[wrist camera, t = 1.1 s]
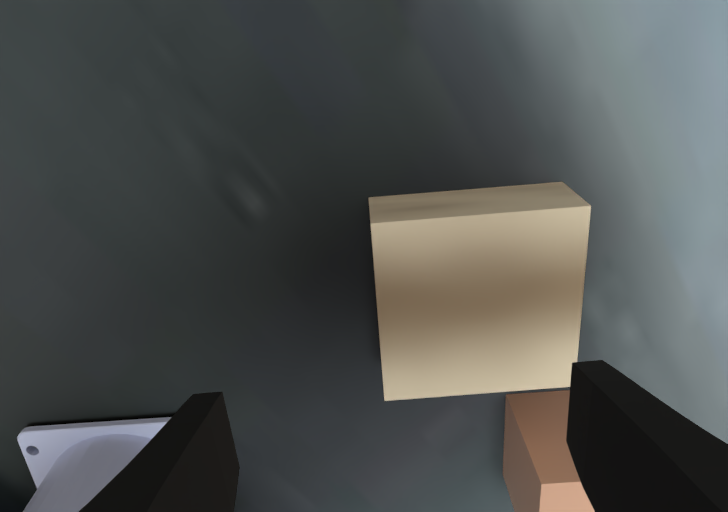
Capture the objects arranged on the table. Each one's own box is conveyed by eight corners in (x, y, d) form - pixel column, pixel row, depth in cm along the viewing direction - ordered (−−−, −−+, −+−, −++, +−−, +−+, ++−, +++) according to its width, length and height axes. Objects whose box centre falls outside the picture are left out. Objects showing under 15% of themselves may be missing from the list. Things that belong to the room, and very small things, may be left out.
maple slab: (548, 341, 24) (574, 386, 21) (380, 354, 24) (384, 400, 21) (559, 179, 21) (591, 205, 18) (368, 194, 21) (370, 223, 18)
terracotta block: (600, 466, 26) (653, 564, 22) (502, 473, 26) (534, 572, 22) (611, 386, 24) (671, 475, 20) (505, 393, 24) (541, 484, 20)
